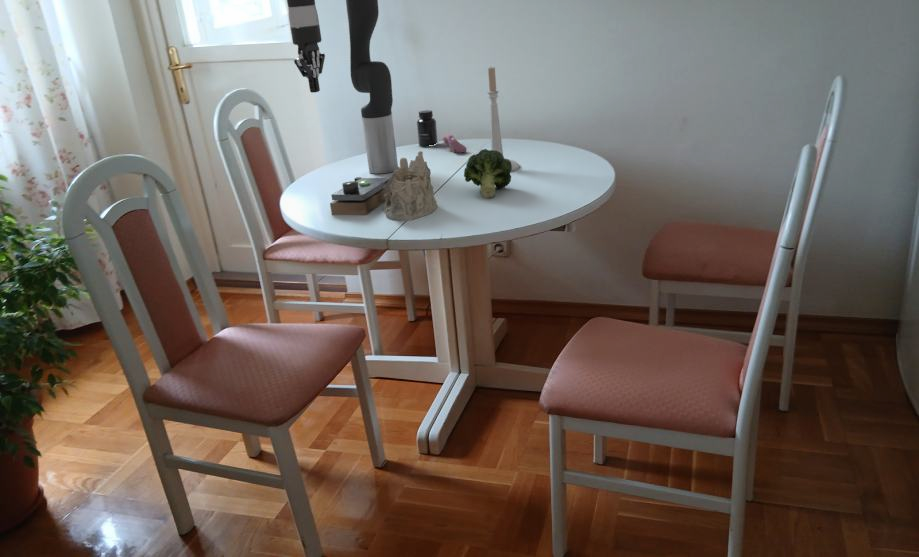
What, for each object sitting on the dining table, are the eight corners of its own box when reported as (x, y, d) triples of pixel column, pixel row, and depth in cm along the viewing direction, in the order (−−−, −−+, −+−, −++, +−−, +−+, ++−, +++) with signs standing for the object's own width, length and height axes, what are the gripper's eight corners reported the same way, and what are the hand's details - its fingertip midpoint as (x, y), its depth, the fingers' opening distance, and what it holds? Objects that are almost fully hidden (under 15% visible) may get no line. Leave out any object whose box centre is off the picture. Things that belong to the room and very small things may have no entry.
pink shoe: (448, 153, 256) (438, 136, 253) (459, 146, 256) (449, 129, 253) (457, 159, 247) (446, 141, 244) (468, 151, 248) (457, 133, 244)
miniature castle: (403, 198, 202) (396, 144, 195) (450, 207, 192) (443, 151, 186) (362, 217, 192) (353, 161, 185) (409, 228, 182) (401, 170, 175)
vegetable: (454, 193, 194) (458, 156, 204) (489, 218, 200) (491, 181, 210) (486, 168, 187) (488, 131, 197) (521, 195, 193) (522, 158, 203)
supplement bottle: (421, 148, 260) (417, 114, 256) (417, 145, 266) (413, 111, 262) (440, 145, 262) (437, 111, 257) (435, 142, 268) (432, 108, 264)
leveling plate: (362, 183, 208) (360, 169, 207) (391, 183, 205) (389, 169, 204) (332, 200, 193) (330, 185, 191) (363, 200, 190) (361, 185, 188)
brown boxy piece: (359, 192, 212) (357, 177, 210) (401, 193, 207) (399, 176, 206) (326, 214, 194) (323, 197, 192) (372, 215, 190) (369, 197, 188)
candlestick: (503, 175, 216) (496, 69, 205) (468, 171, 223) (460, 69, 212) (527, 164, 225) (522, 62, 214) (493, 161, 233) (486, 63, 221)
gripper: (304, 23, 201) (314, 88, 207) (278, 27, 189) (290, 96, 196) (329, 21, 199) (338, 87, 205) (304, 25, 187) (315, 95, 194)
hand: (315, 91), depth 200 cm, fingers closed
